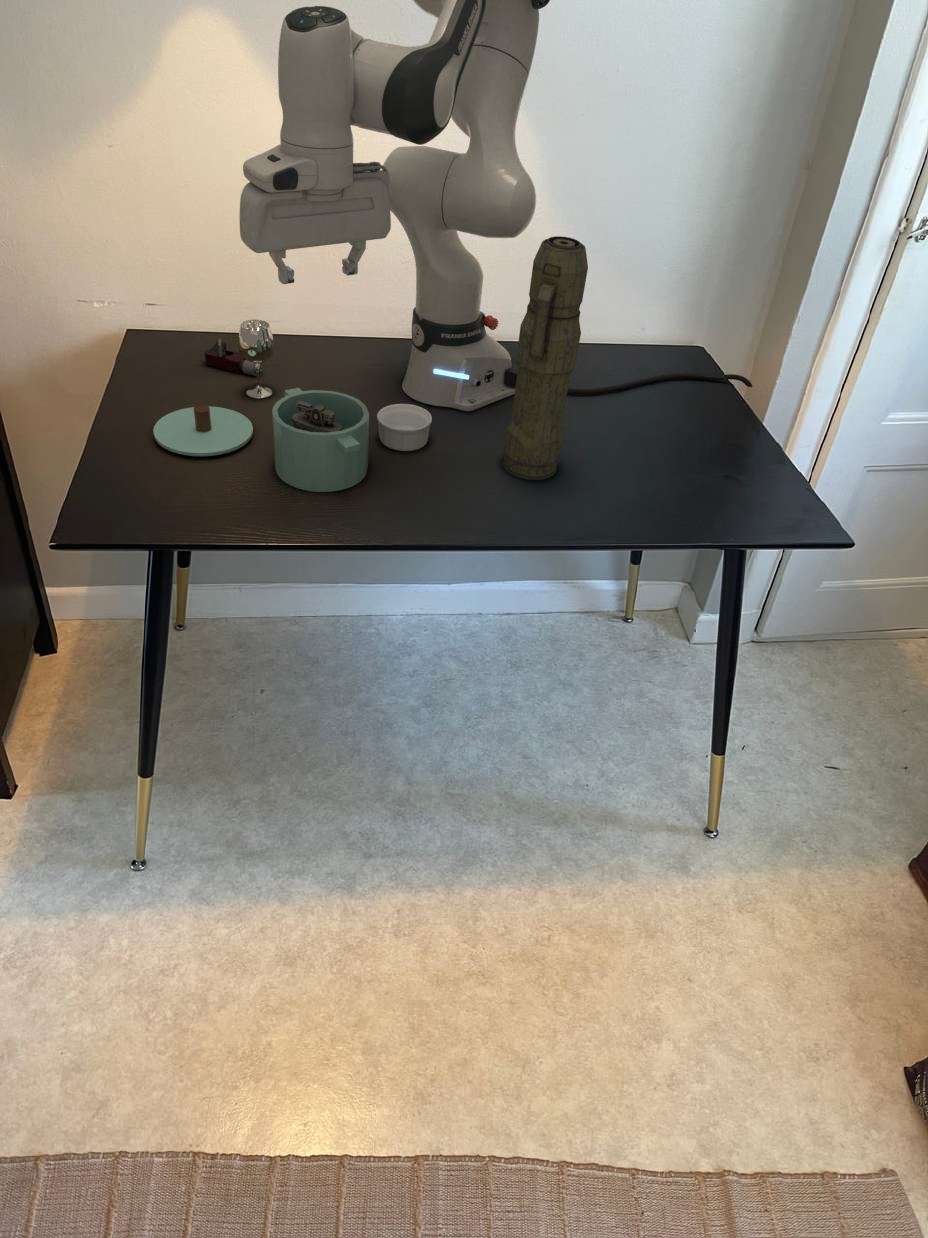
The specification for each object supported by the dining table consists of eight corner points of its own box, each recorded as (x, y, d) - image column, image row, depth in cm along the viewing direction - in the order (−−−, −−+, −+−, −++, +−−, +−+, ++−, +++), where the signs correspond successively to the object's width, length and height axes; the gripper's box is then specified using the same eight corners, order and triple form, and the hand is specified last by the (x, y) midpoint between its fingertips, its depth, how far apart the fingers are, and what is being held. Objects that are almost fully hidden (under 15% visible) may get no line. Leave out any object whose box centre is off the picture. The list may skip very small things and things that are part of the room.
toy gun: (257, 380, 159) (256, 354, 156) (198, 365, 162) (195, 339, 159) (283, 360, 167) (282, 335, 164) (226, 346, 169) (224, 321, 166)
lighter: (346, 468, 138) (346, 408, 132) (335, 477, 136) (335, 417, 130) (300, 453, 141) (298, 394, 134) (289, 463, 138) (286, 403, 132)
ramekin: (417, 458, 144) (419, 434, 141) (367, 444, 145) (367, 420, 143) (438, 435, 150) (440, 411, 147) (390, 422, 152) (390, 398, 149)
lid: (230, 405, 151) (227, 379, 148) (269, 446, 142) (267, 419, 139) (140, 424, 144) (136, 397, 141) (175, 468, 135) (171, 440, 132)
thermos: (493, 477, 141) (522, 248, 119) (511, 443, 150) (541, 224, 128) (548, 490, 140) (588, 260, 117) (563, 455, 149) (602, 235, 126)
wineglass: (268, 402, 154) (265, 334, 146) (236, 396, 154) (231, 328, 147) (281, 388, 158) (278, 321, 150) (250, 382, 159) (245, 315, 151)
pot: (332, 430, 148) (332, 376, 142) (392, 487, 136) (395, 430, 130) (252, 448, 141) (248, 392, 135) (309, 510, 130) (308, 451, 124)
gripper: (377, 154, 118) (374, 261, 127) (230, 163, 108) (238, 279, 117) (402, 166, 115) (397, 276, 123) (252, 178, 105) (258, 296, 114)
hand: (318, 277), depth 120 cm, fingers open, 8 cm apart
